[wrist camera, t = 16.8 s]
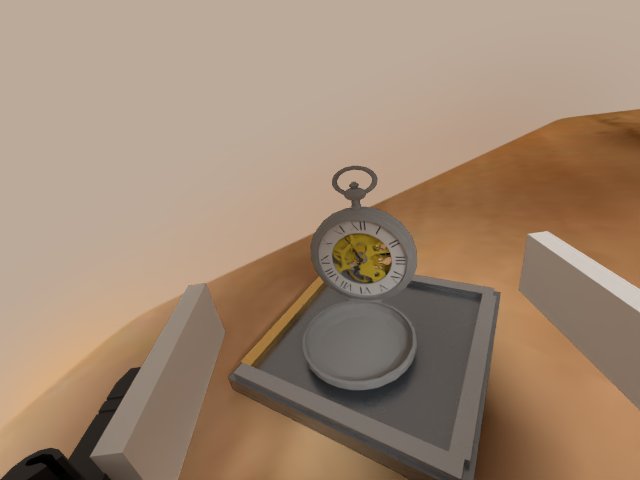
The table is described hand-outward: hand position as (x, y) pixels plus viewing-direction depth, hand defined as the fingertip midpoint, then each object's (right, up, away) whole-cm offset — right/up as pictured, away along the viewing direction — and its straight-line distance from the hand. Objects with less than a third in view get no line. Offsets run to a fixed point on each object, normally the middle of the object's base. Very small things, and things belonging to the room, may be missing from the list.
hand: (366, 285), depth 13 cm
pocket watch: (+1, -4, +7) cm, 8 cm away
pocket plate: (+2, -5, +7) cm, 9 cm away
